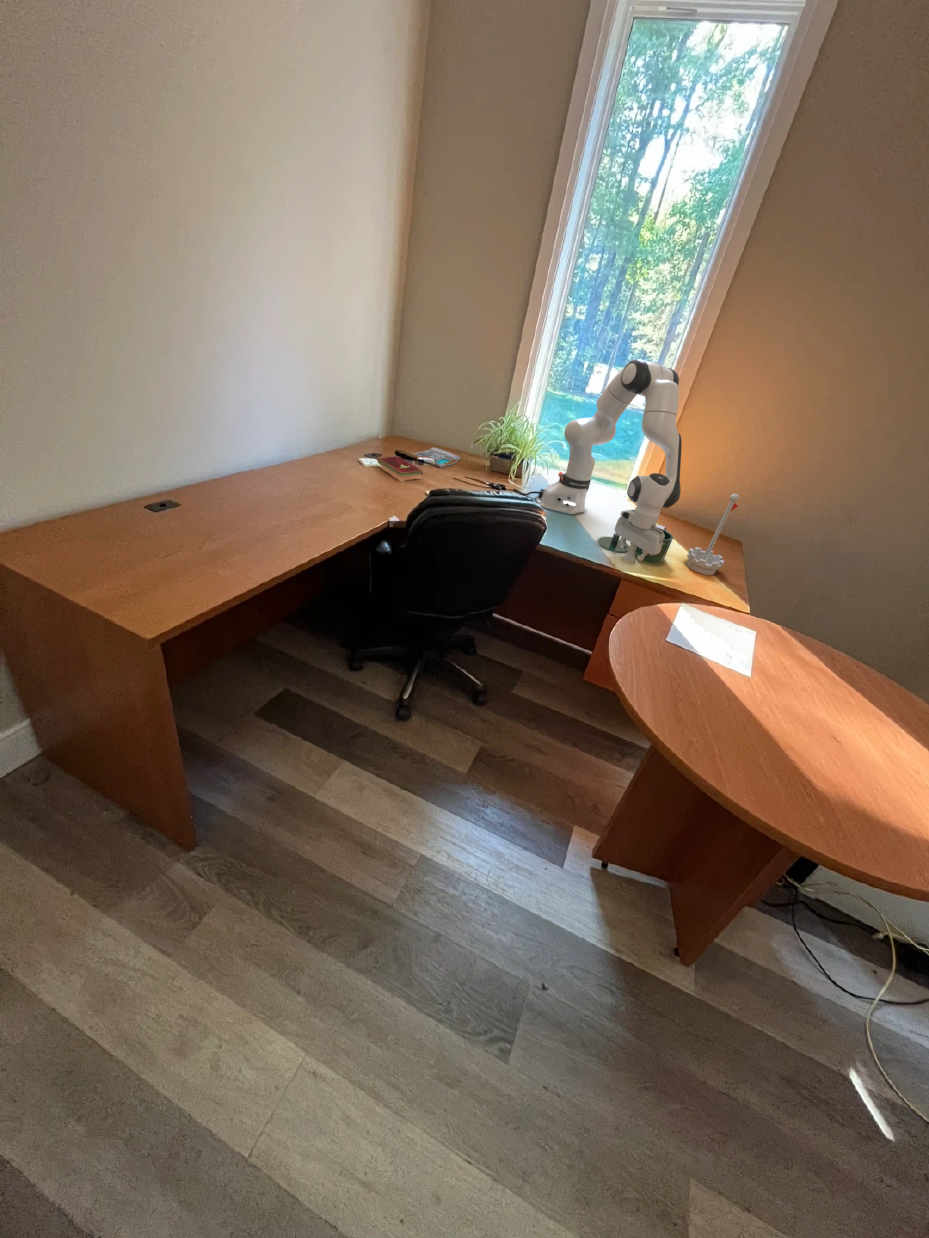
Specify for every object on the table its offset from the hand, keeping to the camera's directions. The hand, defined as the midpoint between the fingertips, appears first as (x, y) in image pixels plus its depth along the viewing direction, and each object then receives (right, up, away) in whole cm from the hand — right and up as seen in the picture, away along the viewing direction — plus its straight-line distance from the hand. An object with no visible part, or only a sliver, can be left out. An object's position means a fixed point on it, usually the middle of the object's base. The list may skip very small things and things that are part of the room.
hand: (631, 554), depth 184 cm
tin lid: (-4, +5, +10) cm, 12 cm away
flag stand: (+29, -4, +6) cm, 30 cm away
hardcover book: (-94, +44, +45) cm, 113 cm away
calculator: (+14, +12, +27) cm, 33 cm away
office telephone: (-77, +58, +69) cm, 119 cm away
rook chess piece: (-1, -2, +2) cm, 3 cm away
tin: (+9, 0, +7) cm, 11 cm away
